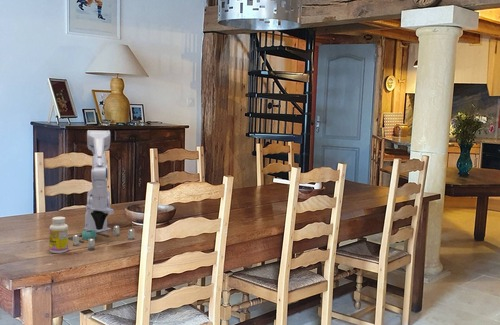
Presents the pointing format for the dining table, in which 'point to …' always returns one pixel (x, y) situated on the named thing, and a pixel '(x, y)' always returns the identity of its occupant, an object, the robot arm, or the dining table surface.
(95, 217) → the robot arm
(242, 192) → the dining table surface
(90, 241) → the spacer field
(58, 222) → the supplement bottle
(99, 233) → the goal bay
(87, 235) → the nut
